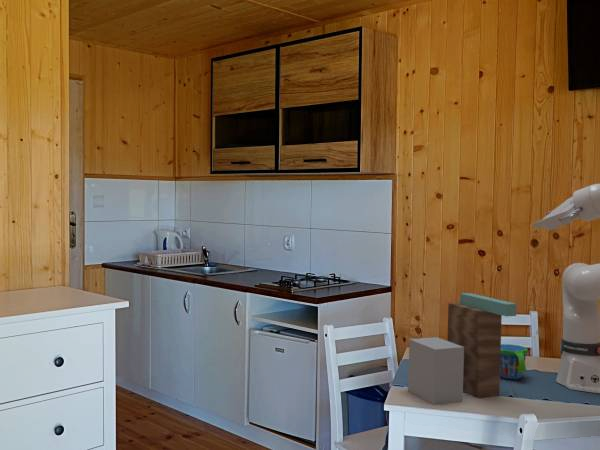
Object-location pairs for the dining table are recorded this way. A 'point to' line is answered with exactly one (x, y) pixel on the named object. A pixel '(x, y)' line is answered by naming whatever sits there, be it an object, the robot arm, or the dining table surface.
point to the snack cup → (512, 361)
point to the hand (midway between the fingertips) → (541, 220)
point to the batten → (488, 304)
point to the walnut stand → (477, 347)
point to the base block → (436, 370)
